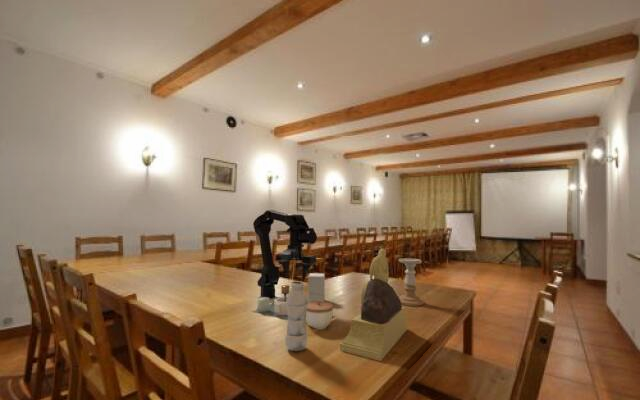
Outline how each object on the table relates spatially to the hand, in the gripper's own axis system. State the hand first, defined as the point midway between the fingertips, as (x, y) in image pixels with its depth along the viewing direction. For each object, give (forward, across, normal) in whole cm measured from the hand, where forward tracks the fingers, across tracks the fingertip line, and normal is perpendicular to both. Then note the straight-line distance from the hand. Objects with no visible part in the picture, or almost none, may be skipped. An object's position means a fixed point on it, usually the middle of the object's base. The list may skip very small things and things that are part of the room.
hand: (295, 277), depth 136 cm
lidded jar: (+13, +21, -15) cm, 29 cm away
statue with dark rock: (+13, +43, -14) cm, 47 cm away
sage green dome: (+12, -6, -14) cm, 19 cm away
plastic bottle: (+13, +25, -35) cm, 45 cm away
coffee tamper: (+11, +2, -10) cm, 15 cm away
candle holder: (+13, +42, +35) cm, 56 cm away
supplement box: (+13, +4, +12) cm, 18 cm away
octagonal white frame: (+12, +2, -10) cm, 16 cm away
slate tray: (+13, +1, -9) cm, 16 cm away
